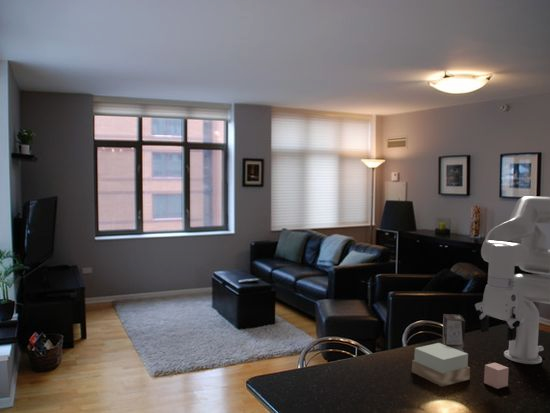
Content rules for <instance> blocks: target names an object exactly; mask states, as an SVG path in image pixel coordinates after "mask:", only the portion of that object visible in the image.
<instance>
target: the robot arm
mask: <svg viewBox="0 0 550 413" xmlns="http://www.w3.org/2000/svg"><path fill="white" fill-rule="evenodd" d="M539 224H544V225H545V224H546V225H547V224H548V225H550V196H536V195H535V196H534V195H532V196H531V195H529V196H522V197H520V198H519V199H518V200H517V201H516V203H515V205H514V208H513V210H512V212H511V214H510V216H509V219H508V220H507V221H505V222H502V223H500V224H498V225H497V226H494V227H493V228H492V229H490V230H489V232H487V234H486V236H485V238H484V241H483V243H482V244H481V249H480V255H481V258H482V259H483V261H484V262H487V263H488V267H487V268H488V271H487V284H486V285H485V288H484V291H483V296H482V297H483V298H482V301H480V302H476V303H475V304H474V307H475V310H476V314H478V316H479V320H480V332H481V333H486V332H489V331H490V330H489V328H490V319H489V317H491V318H494V319H498V320H502V321H506V323H507V325H508V326H509V327H507V334H506V335H507V336H506V337H507V338H506V339H507V341H508V349H506V350H505V351H503V356H504V357H505V358H506V359H507V360H510V361H513V362H515V363H518V364H519V363H520V364H524V365H537V364H541V363H542V362H543V358H542V357H541V355H539V353H540V352H542V351H544V346H542V345H539V330H540V329H539V328H540V326H539V325H540V312H539V309H538V307H537V306H536V304H535V303H541V304H548V305H550V248H547V244H548V236H547V234H546V232H545V231H544V229H543V228H542V227H541V226H540V225H539ZM519 239H521V242H511V241H515V240H519ZM515 267H518V268H519V269H520V270H521V271H524V272H525V273H515ZM526 272H528V273H532V274H527V273H526ZM538 274H540V275H538ZM542 275H543V276H542ZM544 275H546V276H544ZM534 302H535V303H534Z"/></svg>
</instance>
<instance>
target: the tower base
mask: <svg viewBox="0 0 550 413" xmlns="http://www.w3.org/2000/svg"><path fill="white" fill-rule="evenodd" d="M411 373H413V374H415V375H416V376H417V375H418V377H421V378H424V379H426V380H427V381H430V382H431V383H433V384H435V385H437V384H438V385H437V386H440V387H441V388H442V387H445V386H450V385H454V384H457V383H461V382H465V381H468V380H470V377H471V376H470V375H471V374H470V373H471V367H470V366H468V367H466V368H462V369H459V370H455V371H451V372H447V373H444V374H442V373H440V372H438V371H436V370H433V369H431V368H429V367H426V366H424V365H422V364H420V363H417V362H415V361H414V359H412V361H411Z"/></svg>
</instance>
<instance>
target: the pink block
mask: <svg viewBox="0 0 550 413" xmlns="http://www.w3.org/2000/svg"><path fill="white" fill-rule="evenodd" d="M509 369H510V368H509V367H507V366H505V365H502V364H500V363H497V362H491V363H487V364H484V375H483V376H484V378H483V384H486V385H488V386H490V387H492V388H495V389H502V388H505V387H508V386H509Z"/></svg>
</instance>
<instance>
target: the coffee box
mask: <svg viewBox="0 0 550 413" xmlns="http://www.w3.org/2000/svg"><path fill="white" fill-rule="evenodd" d="M442 317H443V318H442V343H441V344H443V345H446V346H449V347H451V348H454V349H457V350H459V351H462V352H465V338H466V337H465V336H466V335H465V333H466V320H465V319H464V317H463V316H462V315H461V314H454V313H452V314H451V313H450V314H447V313H443V316H442Z"/></svg>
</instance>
